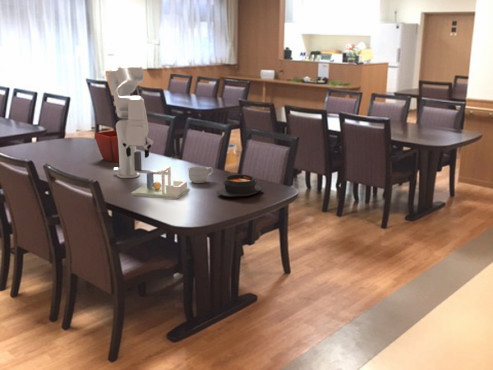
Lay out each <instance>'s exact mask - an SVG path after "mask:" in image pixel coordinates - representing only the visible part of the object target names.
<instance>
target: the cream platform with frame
mask: <svg viewBox="0 0 493 370" xmlns="http://www.w3.org/2000/svg"><path fill="white" fill-rule="evenodd" d="M171 170H172V169H171V166H166V167H164V168H163V169H161V174H162V175H161V188H160V189H158V190H156V189H154V187H152V188H151V189H147V182H146V183H145V184H142V186H140V187H138V188H137V189H135V190H133V191H131V196H137V197H138V196H140V197H148V198H149V197H150V198H161V199H162V198H163V199H172V200H174V199H175V200H177V199H179V198H180V197H181V196H183V195H184V194H185V193H187V192H188V191H189V190H190V186H188V182H187V181H186V180H185V181H184V180H176V179H175V180H172V179H171V177H172V175H171V174H172V173H171V172H172V171H171ZM165 172H170V175H167V184H166V183H165V182H166V179H165V177H166V175H165ZM172 181H173V185H172Z"/></svg>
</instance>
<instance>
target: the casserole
mask: <svg viewBox="0 0 493 370" xmlns="http://www.w3.org/2000/svg"><path fill="white" fill-rule="evenodd" d="M222 183H223V185H224V187H223V188H221V189H218V190H217V191H216V193H217V194H218V195H220V196H224V197H228V198H231V197H236V198H242V197H248V196H249V197H250V196H252V195H255V194H257V193H258V192H261V191H263V188H262V187H261V186H259V185H257V181H256V178H255V177H254V176H252V175H247V174H231V175H227V176H226V177H225V178H224V180H223V181H222Z"/></svg>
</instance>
